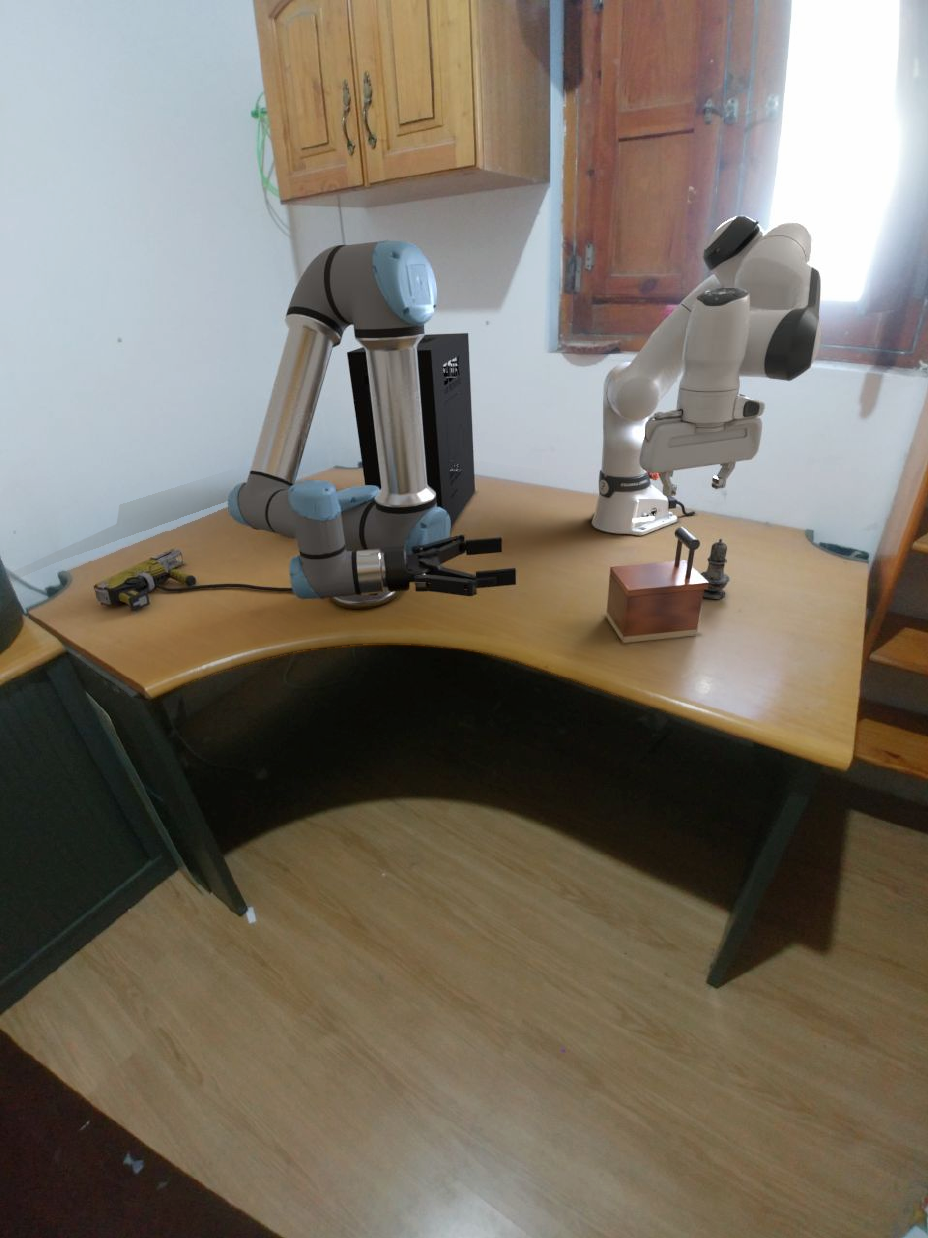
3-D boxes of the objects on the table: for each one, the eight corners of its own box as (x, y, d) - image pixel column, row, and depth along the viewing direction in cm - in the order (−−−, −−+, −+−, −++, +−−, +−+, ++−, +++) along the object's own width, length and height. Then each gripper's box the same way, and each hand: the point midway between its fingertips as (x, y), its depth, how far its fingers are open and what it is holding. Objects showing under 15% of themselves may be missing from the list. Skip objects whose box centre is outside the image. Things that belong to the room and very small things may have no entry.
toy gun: (219, 557, 146) (169, 546, 150) (142, 598, 126) (87, 585, 129) (222, 574, 148) (172, 563, 152) (147, 618, 128) (92, 604, 132)
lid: (684, 565, 114) (690, 521, 110) (707, 588, 106) (715, 542, 102) (609, 573, 113) (613, 528, 109) (627, 596, 105) (632, 550, 101)
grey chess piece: (729, 600, 121) (739, 544, 115) (698, 598, 122) (707, 543, 116) (724, 586, 126) (734, 533, 120) (694, 585, 127) (703, 532, 121)
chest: (674, 609, 119) (680, 566, 114) (696, 635, 111) (704, 589, 106) (606, 616, 118) (609, 573, 113) (623, 643, 110) (627, 597, 105)
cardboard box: (444, 537, 157) (431, 349, 135) (371, 534, 162) (346, 352, 139) (475, 491, 189) (468, 332, 166) (413, 489, 193) (398, 335, 171)
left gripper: (387, 561, 115) (497, 551, 117) (387, 625, 93) (522, 613, 95) (382, 524, 111) (496, 514, 113) (382, 582, 90) (522, 569, 91)
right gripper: (657, 417, 90) (648, 506, 97) (774, 403, 94) (757, 488, 101) (636, 409, 95) (628, 494, 102) (747, 396, 100) (733, 478, 107)
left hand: (508, 559), depth 104 cm, fingers open, 13 cm apart
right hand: (693, 491), depth 102 cm, fingers open, 8 cm apart
